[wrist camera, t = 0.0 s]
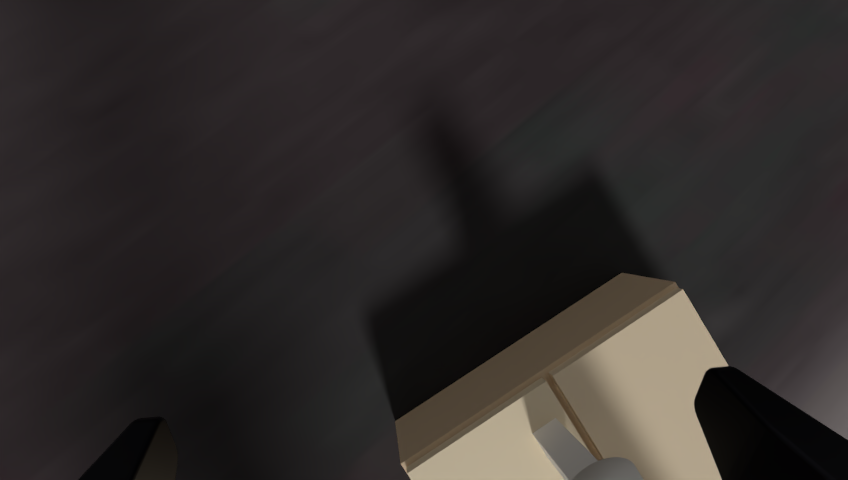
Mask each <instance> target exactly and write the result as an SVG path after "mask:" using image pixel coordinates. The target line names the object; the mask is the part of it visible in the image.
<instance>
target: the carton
mask: <svg viewBox="0 0 848 480" xmlns="http://www.w3.org/2000/svg"><path fill="white" fill-rule="evenodd" d="M725 366H728V364H727V363H726V361H725V359H724V358H723V356H722V354H721V353H720V351H719V349H718V348H717V346H716V344H715V342H714V341H713V339H712V337H711V336H710V334H709V332H708V331H707V329H706V327H705V326H704V324H703V322H702V320H701V319H700V317H699V315H698V314H697V312H696V310H695V309H694V307H693V305H692V304H691V302H690V300H689V298H688V297H687V295H686V293H685V292H684V290H683V289H679V288H678V286H677V284H676V283H675V282H673V281H667V280H661V279H655V278H650V277H644V276H638V275H632V274H626V273H620V274H619V275H617V276H616V277H614V278H613V279H611V280H610V281H608V282H607V283H605V284H604V285H602V286H601V287H599V288H598V289H596V290H594V291H593V292H591V293H590V294H588V295H587V296H585V297H584V298H582V299H581V300H579V301H578V302H576V303H575V304H573V305H572V306H570V307H569V308H567V309H565V310H564V311H562V312H561V313H559V314H558V315H556V316H555V317H553V318H552V319H550V320H549V321H547V322H546V323H544V324H543V325H541V326H540V327H538V328H537V329H535V330H533V331H532V332H530V333H529V334H527V335H526V336H524V337H523V338H521V339H520V340H518V341H517V342H515V343H514V344H512V345H511V346H509V347H508V348H506V349H504V350H503V351H501V352H500V353H498V354H497V355H495V356H494V357H492V358H491V359H489V360H488V361H486V362H485V363H483V364H482V365H480V366H479V367H477V368H476V369H474V370H472V371H471V372H469V373H468V374H466V375H465V376H463V377H462V378H460V379H459V380H457V381H456V382H454V383H453V384H451V385H450V386H448V387H447V388H445V389H443V390H442V391H440V392H439V393H437V394H436V395H434V396H433V397H431V398H430V399H428V400H427V401H425V402H424V403H422V404H421V405H419V406H418V407H416V408H415V409H413V410H411V411H410V412H408V413H407V414H405V415H404V416H402V417H401V418H399V419H398V420H396V421H395V424H396V432H397V439H398V447H399V455H400V462H401V465H402V466H403V468H404V470H405V471H406V473H407V469H406V467H407V466H409V465H410V464H412V463H413V462H415V461H417V460H418V459H420V458H421V457H423V456H424V455H426V454H427V453H429V452H430V451H432V450H433V449H435V448H436V447H438V446H439V445H441V444H442V443H444V442H445V441H447V440H448V439H450V438H451V437H453V436H454V435H456V434H457V433H459V432H460V431H462V430H463V429H465V428H466V427H468V426H469V425H471V424H472V423H474V422H475V421H477V420H478V419H480V418H481V417H483V416H484V415H486V414H487V413H489V412H490V411H492V410H493V409H495V408H496V407H498V406H499V405H501V404H502V403H504V402H505V401H507V400H508V399H510V398H511V397H513V396H514V395H516V394H517V393H519V392H520V391H522V390H523V389H525V388H526V387H528V386H529V385H531V384H532V383H534V382H535V381H537V380H539V379H540V378H543V379H544V380H545V381H546V382H547V383H548V385H549V386H550V388H551V390H552V391H553V393H554V395H555V396H556V398H557V399H558V401H559V403H560V404H561V406H562V407H563V409H564V411H565V412H566V414H567V416H568V417H569V419H570V420H571V422H572V424H573V425H574V427H575V428H576V430H577V432H578V433H579V435H580V437H581V438H582V440H583V441H584V443H585V445H586V446H587V448H588V449H589V451H590V453H591V454H592V455H593V456H594V457H595V458H596V459H597V460H598V461H599V460H602V459H605V458H611V457H621V458H625V459H628V460H630V461H631V462H632V463H633V464H634V465H635V466H636V468H637V470H638V471H639V473H640V475H641V476H642V478H643V479H644V480H722V479H721V476H720V474H719V471H718V469H717V466H716V464H715V461H714V459H713V456H712V454H711V451H710V448H709V446H708V443H707V441H706V438H705V436H704V433H703V431H702V428H701V426H700V423H699V421H698V418H697V416H696V413H695V409H694V399H695V396H696V394H697V391H698V389H699V386H700V384H701V381H702V379H703V376H704V374H705V372H706V371H707V370H708V369H709V368H714V367H725Z"/></svg>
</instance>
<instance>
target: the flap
mask: <svg viewBox="0 0 848 480" xmlns="http://www.w3.org/2000/svg"><path fill="white" fill-rule="evenodd" d="M406 469H407V474H408V476H409V477H410V479H411V480H644V479H643V478H642V476H641V475H640V473H639V471H638V470H637V468H636V466H635V465H634V464H633V463H632V462H631V461H630V460H628V459H625V458H621V457H611V458H605V459H602V460H599V461H598V460H597V459H596V458H595V457H594V456H593V455H592V454H591V453H590V451H589V449H588V448H587V446H586V445H585V443H584V441H583V440H582V438H581V437H580V435H579V433H578V432H577V430H576V428H575V427H574V425H573V424H572V422H571V420H570V419H569V417H568V416H567V414H566V412H565V411H564V409H563V407H562V406H561V404H560V403H559V401H558V399H557V398H556V396H555V395H554V393H553V391H552V390H551V388H550V386H549V385H548V383H547V382H546V381H545V380H544V379H543V378H540V379H539V380H537V381H535V382H534V383H532V384H531V385H529V386H528V387H526V388H525V389H523V390H522V391H520V392H519V393H517V394H516V395H514V396H513V397H511V398H510V399H508V400H507V401H505V402H504V403H502V404H501V405H499V406H498V407H496V408H495V409H493V410H492V411H490V412H489V413H487V414H486V415H484V416H483V417H481V418H480V419H478V420H477V421H475V422H474V423H472V424H471V425H469V426H468V427H466V428H465V429H463V430H462V431H460V432H459V433H457V434H456V435H454V436H453V437H451V438H450V439H448V440H447V441H445V442H444V443H442V444H441V445H439V446H438V447H436V448H435V449H433V450H432V451H430V452H429V453H427V454H426V455H424V456H423V457H421V458H420V459H418V460H417V461H415V462H413V463H412V464H410V465H409V466H407V467H406Z"/></svg>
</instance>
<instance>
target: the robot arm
mask: <svg viewBox="0 0 848 480" xmlns="http://www.w3.org/2000/svg"><path fill="white" fill-rule="evenodd" d="M694 409H695V413H696V416H697V418H698V421H699V423H700V426H701V428H702V431H703V433H704V436H705V438H706V441H707V443H708V446H709V448H710V451H711V454H712V456H713V459H714V461H715V464H716V466H717V469H718V471H719V474H720V476H721V479H722V480H848V440H847V439H845V438H844V437H842V436H841V435H839V434H837V433H836V432H834V431H833V430H831V429H830V428H828V427H827V426H825V425H823V424H822V423H820V422H819V421H817V420H816V419H814V418H813V417H811V416H810V415H808V414H806V413H805V412H803V411H802V410H800V409H799V408H797V407H796V406H794V405H793V404H791V403H789V402H788V401H786V400H785V399H783V398H782V397H780V396H779V395H777V394H776V393H774V392H772V391H771V390H769V389H768V388H766V387H765V386H763V385H762V384H760V383H758V382H757V381H755V380H754V379H752V378H751V377H749V376H748V375H746V374H745V373H743V372H741V371H740V370H738V369H736V368H734V367H730V366H725V367H714V368H709V369H708V370H707V371H706V372H705V374H704V376H703V379H702V381H701V384H700V386H699V389H698V391H697V394H696V396H695V399H694ZM177 463H178V452H177V448H176V445H175V442H174V440H173V437H172V435H171V432H170V430H169V427H168V425H167V422H166V420H165V419H164V418H162V417H150V418H140V419H137V420H135V421H133V422H132V423H131V424H130V425H129V426H128V427H127V428H126V429H125V430H124V431H123V432H122V433H121V434H120V435H119V437H118V438H117V439H116V440H115V441H114V442H113V443H112V444H111V445H110V446H109V447H108V448H107V449H106V451H105V452H104V453H103V454H102V455H101V456H100V457H99V458H98V459H97V460H96V461H95V462H94V463H93V464H92V466H91V467H90V468H89V469H88V470H87V471H86V472H85V473H84V474H83V475H82V476H81V477H80V478H79V479H78V480H175V477H176V471H177Z"/></svg>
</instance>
